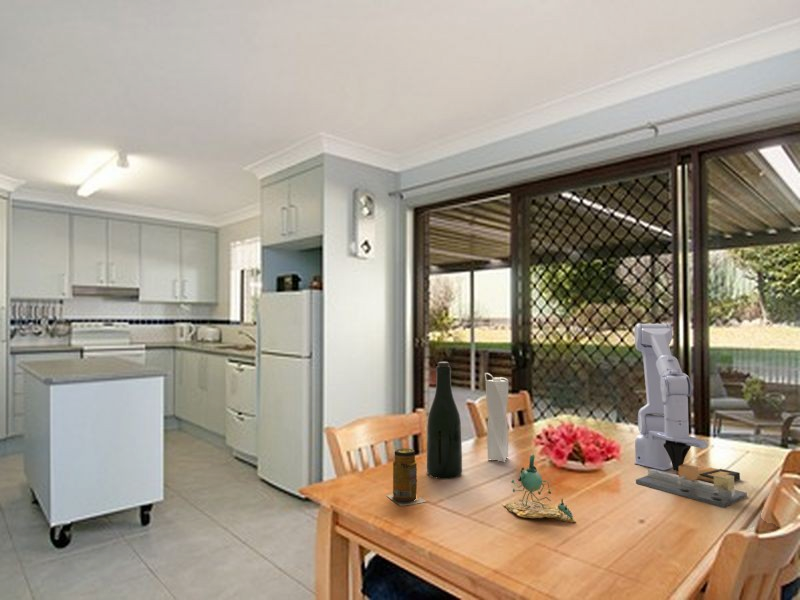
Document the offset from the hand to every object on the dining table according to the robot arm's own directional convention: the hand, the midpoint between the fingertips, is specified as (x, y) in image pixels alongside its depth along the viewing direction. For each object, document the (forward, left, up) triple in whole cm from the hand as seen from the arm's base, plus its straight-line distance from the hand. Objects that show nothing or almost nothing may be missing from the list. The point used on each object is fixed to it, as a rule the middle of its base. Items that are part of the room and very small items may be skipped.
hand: (677, 470), depth 133 cm
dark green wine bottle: (-45, -44, -5) cm, 64 cm away
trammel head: (+3, -2, -2) cm, 4 cm away
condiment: (-35, -65, -5) cm, 75 cm away
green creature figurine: (-10, -46, -5) cm, 48 cm away
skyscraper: (-47, -20, -5) cm, 52 cm away
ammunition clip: (+7, +15, -3) cm, 16 cm away
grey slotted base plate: (+3, 0, -4) cm, 5 cm away
